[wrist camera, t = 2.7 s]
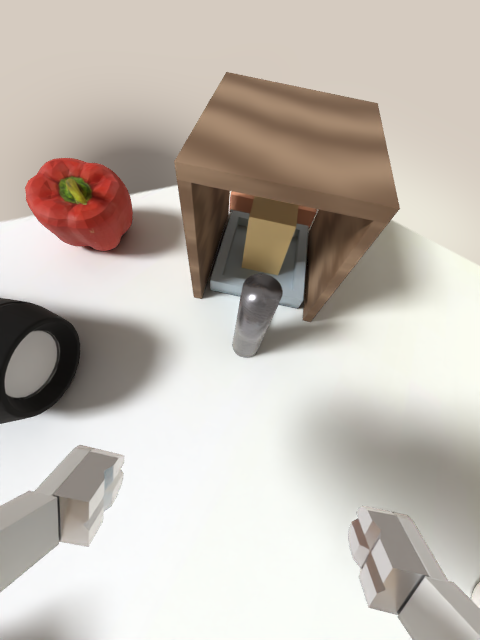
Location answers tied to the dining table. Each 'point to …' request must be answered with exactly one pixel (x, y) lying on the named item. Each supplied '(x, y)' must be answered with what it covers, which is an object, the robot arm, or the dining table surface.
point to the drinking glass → (476, 595)
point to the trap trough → (245, 202)
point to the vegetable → (80, 203)
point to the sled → (257, 283)
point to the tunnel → (288, 174)
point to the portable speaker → (34, 359)
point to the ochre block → (269, 234)
